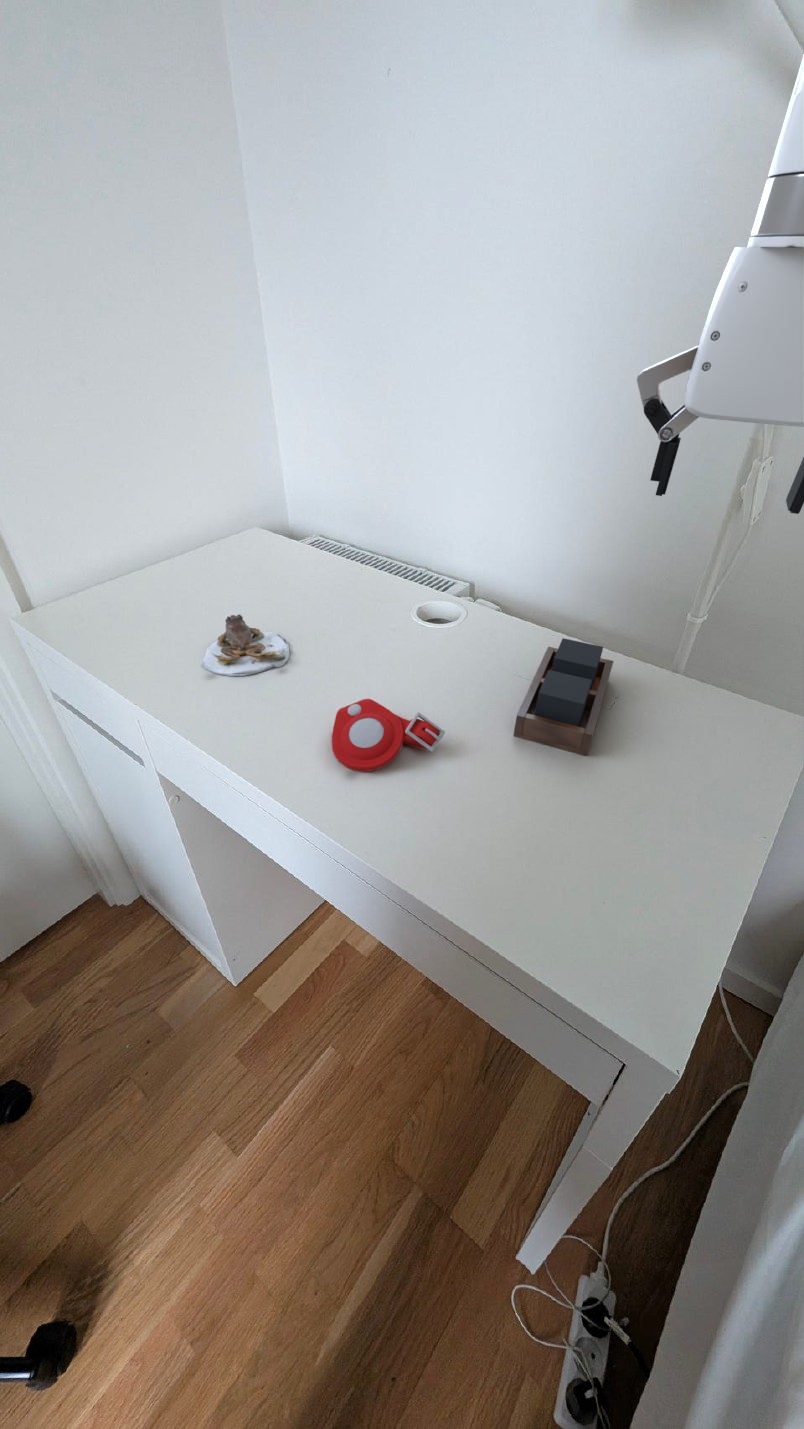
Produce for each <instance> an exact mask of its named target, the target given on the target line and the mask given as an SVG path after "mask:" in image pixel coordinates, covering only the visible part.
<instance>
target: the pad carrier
mask: <svg viewBox="0 0 804 1429" xmlns="http://www.w3.org/2000/svg"><path fill="white" fill-rule="evenodd" d="M557 650H558V648H557V647H553V646H547V647H546V650H545V653H544V655H543V656H542V659H541V662H540V664H539V665H538V668H537V670H536V672H535V675H534V676H533V679H532V681H531V683H530V685H529V687H528V690H527V692H526V695H525V696H524V698H523V701H522V703H521V705H520V707H519V710H518V712H517V714H516V718H515V724H514V729H513V730H514V731H513V737H516V738H520V739H522V740H527V741H530V742H534V743H537V744H541V745H545V746H549V747H553V748H556V749H560V750H563V751H567V752H570V753H574V754H577V755H581V756H585V757H587V756H588V755H589V751H590V747H591V744H592V740H593V736H594V734H595V729H596V726H597V722H598V718H599V716H600V711H601V707H602V704H603V701H604V697H605V694H606V690H607V687H608V684H609V679H610V675H611V672H612V668H613V665H614V662H615V661H614V660H611V659H607V658H602V657H601V658H600V662H599V665H598V669H597V673H596V677H595V680H594V684H593V687H592V690H589V694H588V698H587V702H586V706H585V709H584V713H583V717H582V720H581V723H580V726H579V727H578V726H574V725H570V724H566V723H563V722H559V721H555V720H551V719H547V718H543V717H540V716H536V715H535V710H536V705H537V699H538V694H539V691H540V689H541V687H542V684H543V682H544V680H545V677H546V675H547V673H548V670H551V671H552V666H553V662H554V657H555V655H556V653H557Z"/></svg>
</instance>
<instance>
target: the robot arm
mask: <svg viewBox="0 0 804 1429" xmlns="http://www.w3.org/2000/svg"><path fill="white" fill-rule="evenodd" d="M795 79H796V80H795V83H794V86H793V89H792V93H791V96H790V100H789V103H788V107H787V109H786V110H787V111H786V113H785V117H784V120H783V124H782V128H781V130H780V134H779V137H778V140H777V144H776V148H775V150H774V155H773V157H772V162H771V165H770V168H769V172H768V175H767V179H766V181H765V185H764V189H763V191H762V196H761V199H760V202H759V205H758V209H757V213H756V215H755V218H754V222H753V226H752V229H751V232H750V237H749V238H748V243H747V246H735V247H734V249H733V251H732V252H731V254H730V257H729V260H728V261H727V264H726V266H725V268H724V271H723V273H722V275H721V278H720V280H719V283H718V286H717V288H716V291H715V294H714V295H713V296H714V297H713V299H712V302H711V305H710V307H709V310H708V313H707V317H706V319H705V323H704V326H703V329H702V332H701V335H700V339H699V341H698V344H697V345H696V346H693V347H691V348H688V349H686V350H684V351H682V352H680V353H677V354H675V355H673V356H671V357H669V358H666V359H664V360H662V361H659V362H657V363H655V364H653V365H651V366H648V367H646V368H644V369H643V370H641V371H640V373H639V374H638V375H637V377H636V384H637V387H638V392H639V396H640V400H641V403H642V407H643V408H642V409H643V414H644V416H645V417H646V418H647V420H648V421H649V423H650V425H651V426H652V428H653V429H654V431H655V433H656V434H657V438H658V440H659V441H660V442H659V445H658V450H657V453H656V457H655V461H654V464H653V468H652V472H651V476H650V480H649V481H651V482H657V484H658V485H657V488H656V491H655V496H657V497H662V496H663V495H666V493H667V489H668V486H669V483H670V478H671V476H672V471H673V468H674V465H675V462H676V461H675V460H676V458H677V454H678V451H679V446H680V443H681V441H682V440H681V439H682V437H680V433H682V432H683V431H684V430H685V429H686V428H688V427H689V426H691V425H692V423H694V422H695V421H696V420H697V419H699V418H703V419H710V420H719V421H728V422H729V421H730V422H731V421H732V422H741V423H752V424H761V425H773V426H774V425H775V426H785V427H797V428H798V427H800V428H804V55H803V56H802V60H801V63H800V66H799V70H798V73H797V77H796V78H795ZM686 372H689V374H688V378H687V383H686V386H685V387H686V388H685V395H684V403H683V404H682V405H681V406H679V407H678V408H677V409H675V411H673V412H672V413H671V412H670V411H669V409H668V408H667V406H666V405H665V402H664V401H663V399H662V398H661V392H660V385H661V383H663V382H665V381H667V380H669V379H671V378H674V377H677V376H679V375H681V374H683V373H686ZM785 504H786V507H787V511H788V512H790V514H795V515H796V514H797V515H799V514H800V513H801V510H802V508H803V506H804V456H803V457H802V459H801V462H800V465H799V466H798V470H797V472H796V474H795V477H794V479H793V480H792V484H791V485H790V488H789V491H788V493H787V495H786V499H785Z"/></svg>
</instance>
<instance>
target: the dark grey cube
mask: <svg viewBox="0 0 804 1429" xmlns="http://www.w3.org/2000/svg"><path fill="white" fill-rule="evenodd" d="M591 682H592V680H590V679H586V678H581V677H577V676H573V675H569V674H564V673H560V672H556V671H551V670H548V673H547V675H546V677H545V680H544V682H543V684H542V687H541V689H540V691H539V694H538V699H537V705H536V710H535V715H536V716H540V717H543V718H547V719H551V720H555V721H559V722H563V723H566V724H570V725H574V726H578V727H579V726H580V723H581V720H582V717H583V713H584V709H585V706H586V702H587V698H588V694H589V690H590V686H591Z"/></svg>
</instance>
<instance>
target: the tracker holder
mask: <svg viewBox="0 0 804 1429" xmlns="http://www.w3.org/2000/svg"><path fill="white" fill-rule="evenodd" d="M334 718H335V719H334V722H333V727H332V734H331V750H332V753H333V755H334V757H335V758H336V761H337V762H338V763H340V764H341V766H343V767H345V768H347V769H349V770H352V771H356V772H371V771H376V770H379V769H382V768H383V767H385V766H387V765H389V764H390V763H391V762H393V760H394V759H395V758H396V757H397V756H398V754H399V753H400V751H401V750H402V746H403V744H405V745H407V746H411V747H414V748H417V749H422V750H428V751H430V752H434V751H435V750H436V748H437V746H438V744H439V743H440V741H442V738H443V737H444V735H445V733H446V731H445V730H444V729H442V728H441V727H440V726H438V725H437V724H435V722H433V721H432V720H430V719H429V718H427V717H426V716H425V715H423V714H422V713H421V712H416V714H415V715H414V717H413V718H411V719H410V720H409V719H406V718H404V717H402V716H399V715H397V714H396V713H394V712H393V711H391V710H390V709H389V708H387V707H385V706H383V705H382V704H380V702H379V703H378V702H377V701H375V700H374V699H371V698H363V699H361V700H358V701H356V702H353V703H351V704H348V705H346V706H343V707H340V708H339V709H338V710H337V712H336V714H335V717H334Z"/></svg>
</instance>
